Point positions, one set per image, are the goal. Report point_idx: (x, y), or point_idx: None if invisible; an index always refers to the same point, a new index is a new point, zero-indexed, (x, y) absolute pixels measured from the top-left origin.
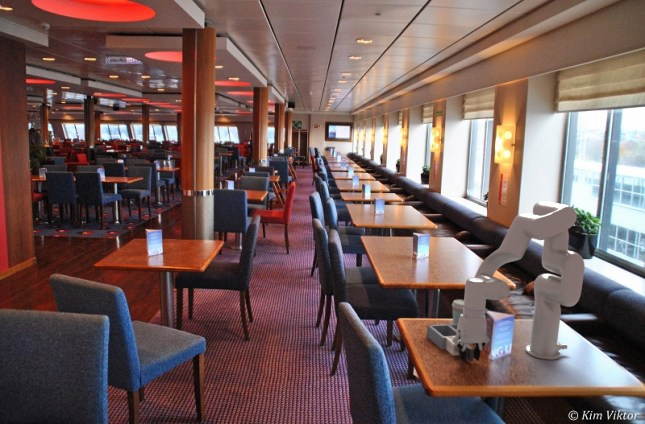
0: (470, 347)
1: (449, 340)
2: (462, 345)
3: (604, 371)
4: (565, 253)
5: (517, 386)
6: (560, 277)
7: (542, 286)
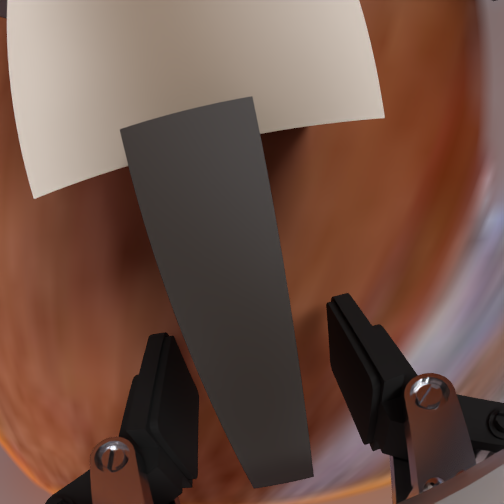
0: (294, 444)
1: (9, 13)
2: (144, 494)
3: None
4: None
5: (382, 481)
6: None
7: None
